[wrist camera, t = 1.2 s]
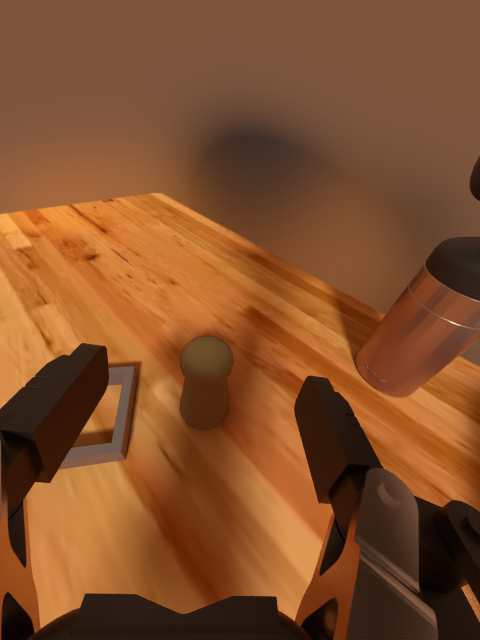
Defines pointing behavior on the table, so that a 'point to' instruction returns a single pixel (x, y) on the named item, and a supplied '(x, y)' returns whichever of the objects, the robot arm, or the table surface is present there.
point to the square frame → (121, 429)
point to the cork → (205, 381)
